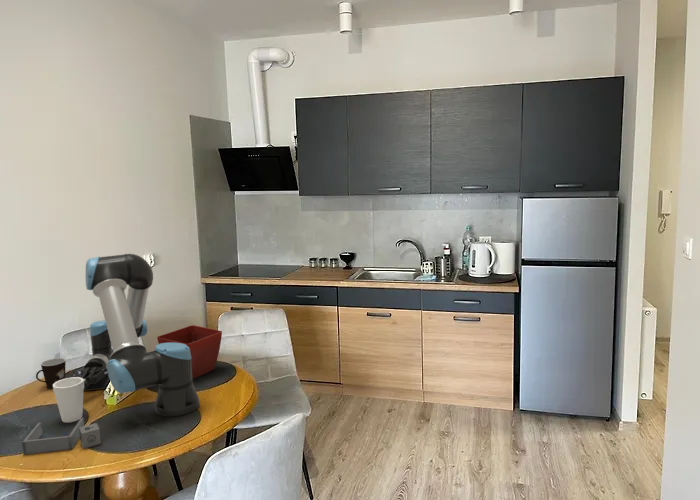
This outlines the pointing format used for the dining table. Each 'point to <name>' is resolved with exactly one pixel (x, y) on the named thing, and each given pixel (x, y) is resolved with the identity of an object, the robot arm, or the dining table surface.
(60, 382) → the foam cup
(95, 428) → the grey cube
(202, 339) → the plant pot
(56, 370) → the coffee mug
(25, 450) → the tray
